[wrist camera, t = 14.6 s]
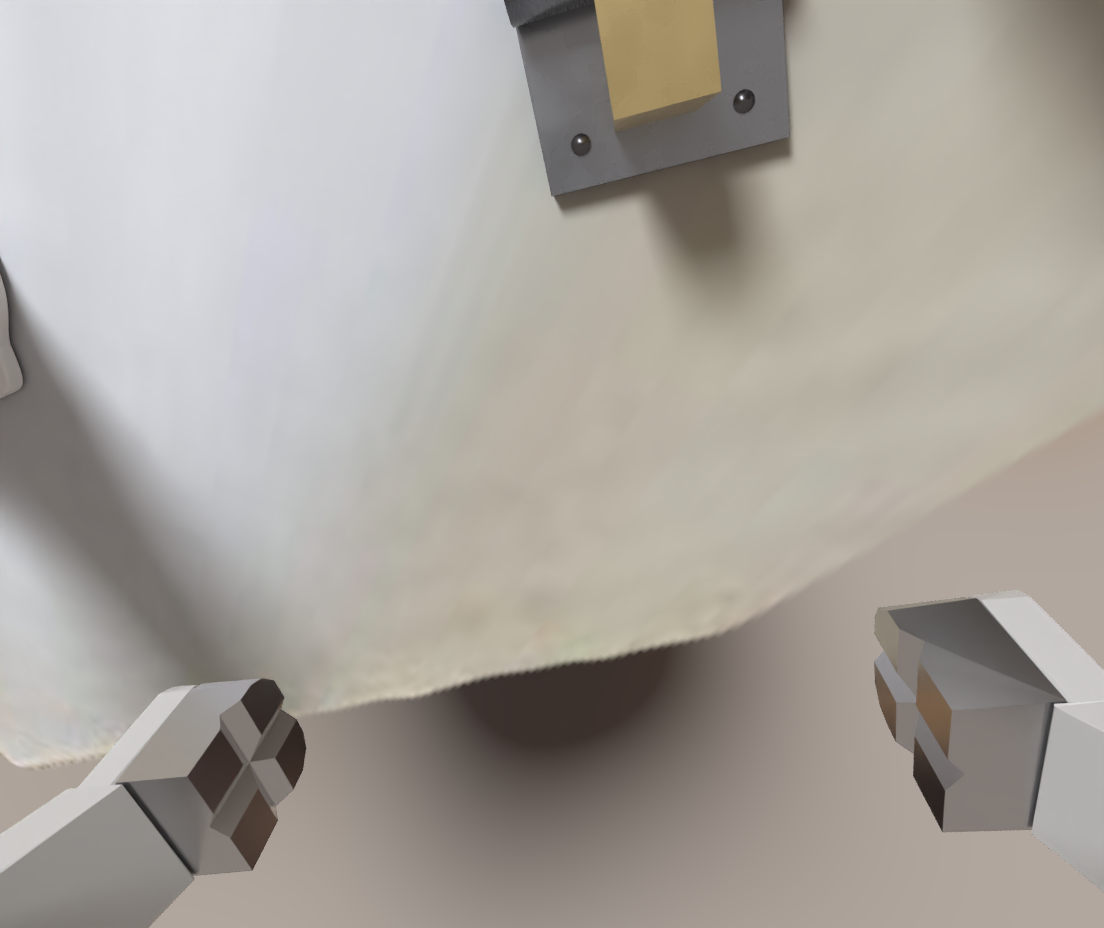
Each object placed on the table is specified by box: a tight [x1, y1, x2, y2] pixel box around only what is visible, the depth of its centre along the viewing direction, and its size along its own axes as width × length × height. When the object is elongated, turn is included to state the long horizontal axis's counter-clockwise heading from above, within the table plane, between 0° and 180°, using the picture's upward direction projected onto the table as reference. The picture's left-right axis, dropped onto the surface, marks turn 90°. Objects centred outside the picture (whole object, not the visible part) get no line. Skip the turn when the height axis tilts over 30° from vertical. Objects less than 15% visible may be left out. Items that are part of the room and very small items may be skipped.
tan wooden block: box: [594, 0, 721, 132], centre depth 25 cm, size 4×4×8 cm
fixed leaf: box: [504, 0, 790, 196], centre depth 28 cm, size 10×12×4 cm
